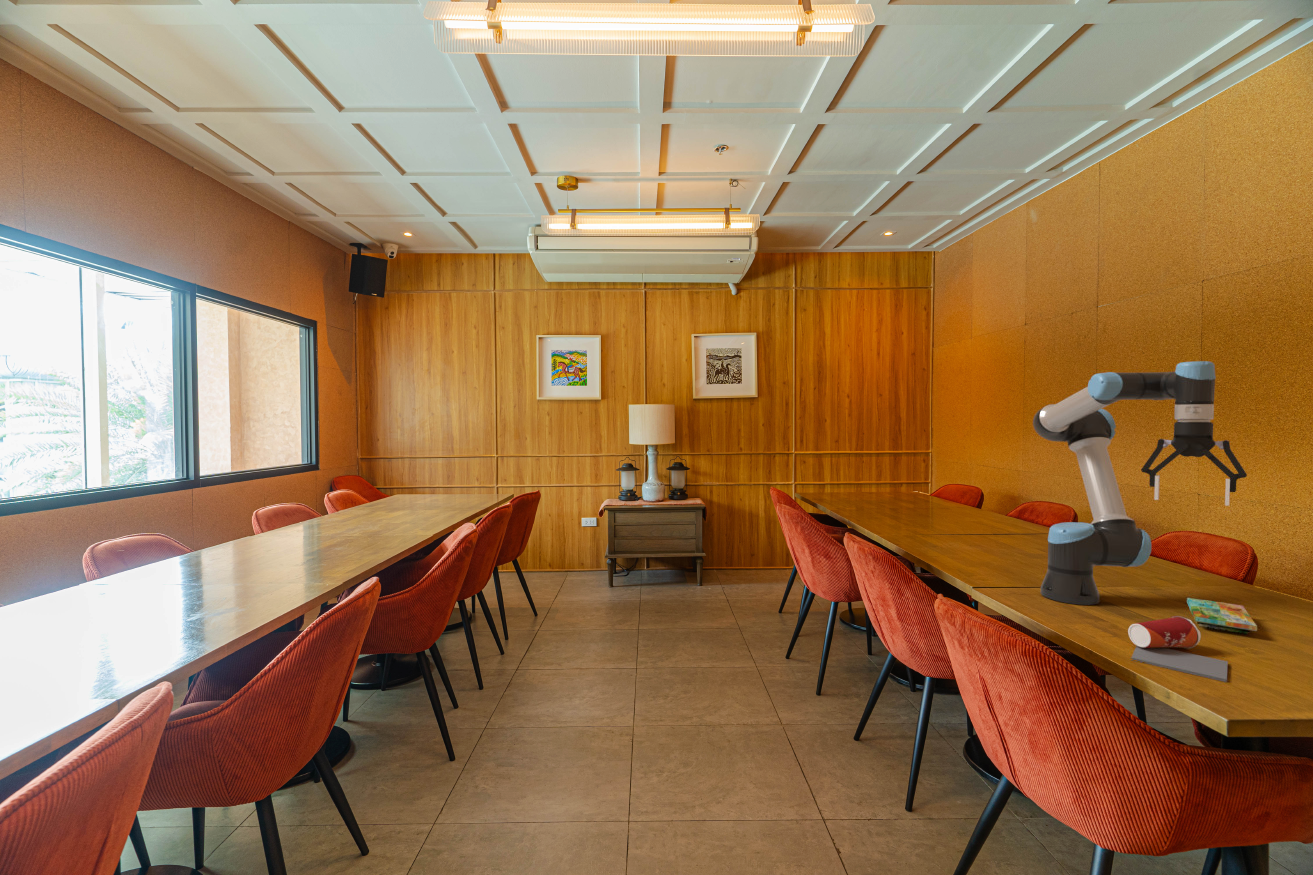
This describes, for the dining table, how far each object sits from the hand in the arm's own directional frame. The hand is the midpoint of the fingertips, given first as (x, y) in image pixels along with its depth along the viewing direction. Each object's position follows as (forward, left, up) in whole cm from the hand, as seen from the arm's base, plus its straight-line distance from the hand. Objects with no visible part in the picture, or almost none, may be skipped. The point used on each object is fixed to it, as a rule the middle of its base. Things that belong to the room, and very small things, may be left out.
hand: (1190, 502), depth 152 cm
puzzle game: (+6, +16, -35) cm, 39 cm away
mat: (0, -26, -35) cm, 43 cm away
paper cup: (-8, -24, -31) cm, 40 cm away
